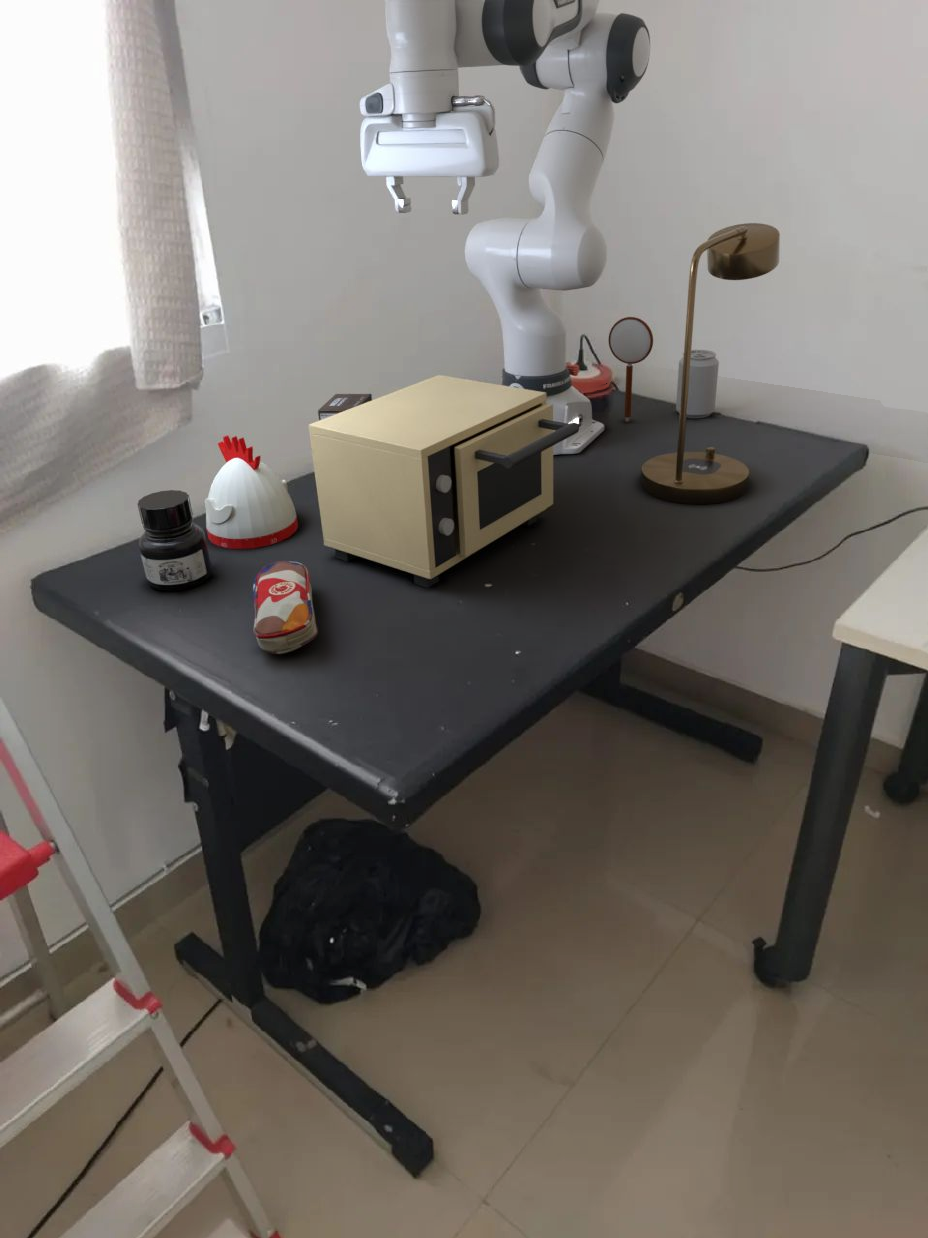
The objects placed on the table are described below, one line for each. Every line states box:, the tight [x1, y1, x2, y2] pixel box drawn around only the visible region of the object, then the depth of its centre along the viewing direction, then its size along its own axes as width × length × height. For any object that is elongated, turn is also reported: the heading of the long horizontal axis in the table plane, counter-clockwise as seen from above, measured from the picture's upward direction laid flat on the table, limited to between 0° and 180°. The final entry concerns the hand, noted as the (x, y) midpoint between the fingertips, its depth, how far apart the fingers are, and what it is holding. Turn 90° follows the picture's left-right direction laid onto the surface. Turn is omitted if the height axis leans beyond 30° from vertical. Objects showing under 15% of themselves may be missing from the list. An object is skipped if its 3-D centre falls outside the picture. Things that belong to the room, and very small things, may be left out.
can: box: [675, 349, 720, 419], centre depth 184 cm, size 8×8×12 cm
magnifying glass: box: [608, 316, 654, 423], centre depth 179 cm, size 9×2×20 cm, turn 62°
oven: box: [308, 374, 548, 589], centre depth 136 cm, size 28×21×20 cm
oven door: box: [455, 403, 579, 558], centre depth 130 cm, size 22×7×15 cm, turn 142°
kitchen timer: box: [204, 434, 299, 550], centre depth 144 cm, size 14×14×15 cm
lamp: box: [640, 222, 781, 505], centre depth 149 cm, size 17×27×38 cm, turn 145°
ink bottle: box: [136, 489, 212, 592], centre depth 131 cm, size 10×9×12 cm
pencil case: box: [252, 560, 319, 655], centre depth 120 cm, size 11×20×5 cm, turn 177°
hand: (431, 213), depth 129 cm, fingers open, 8 cm apart
